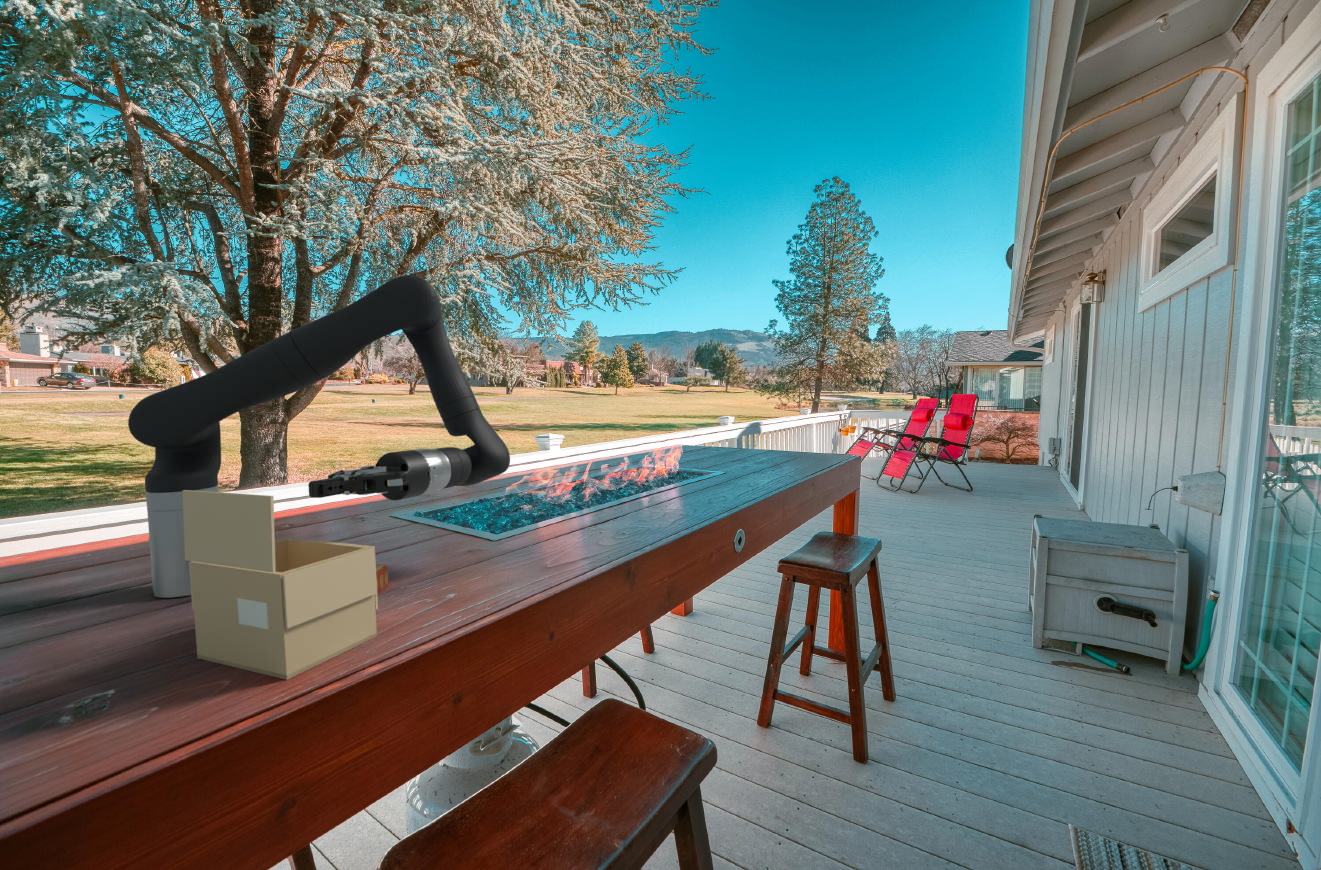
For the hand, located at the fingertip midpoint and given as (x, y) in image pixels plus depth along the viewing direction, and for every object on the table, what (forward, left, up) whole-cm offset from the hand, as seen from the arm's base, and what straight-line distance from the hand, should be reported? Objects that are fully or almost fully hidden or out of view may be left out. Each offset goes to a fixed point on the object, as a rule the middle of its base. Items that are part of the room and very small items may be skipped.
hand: (312, 489), depth 73 cm
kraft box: (0, -4, -20) cm, 20 cm away
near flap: (0, -10, -3) cm, 11 cm away
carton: (-13, +11, -20) cm, 26 cm away
